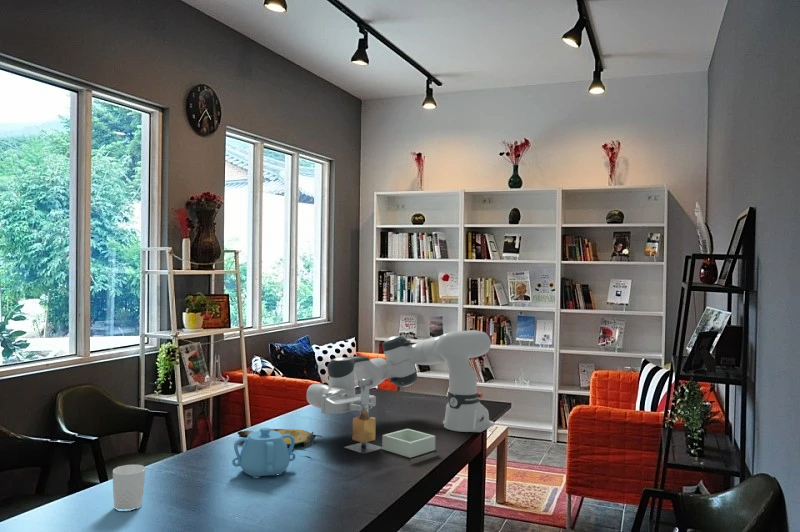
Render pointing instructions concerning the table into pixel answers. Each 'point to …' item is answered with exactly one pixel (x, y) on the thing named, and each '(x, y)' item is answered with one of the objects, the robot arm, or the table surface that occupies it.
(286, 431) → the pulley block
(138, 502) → the white cup
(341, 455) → the table surface
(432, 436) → the bin
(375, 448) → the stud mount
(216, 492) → the table surface
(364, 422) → the strut
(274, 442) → the decorative pot
